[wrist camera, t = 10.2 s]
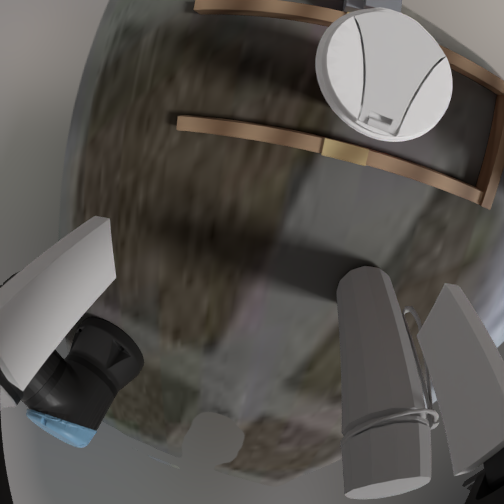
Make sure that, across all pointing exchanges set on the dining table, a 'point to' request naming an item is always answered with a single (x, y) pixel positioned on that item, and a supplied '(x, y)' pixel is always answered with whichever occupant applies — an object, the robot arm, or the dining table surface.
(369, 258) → the dining table surface
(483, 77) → the brown piece
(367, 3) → the block
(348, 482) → the water bottle
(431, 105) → the coffee cup
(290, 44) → the dining table surface
